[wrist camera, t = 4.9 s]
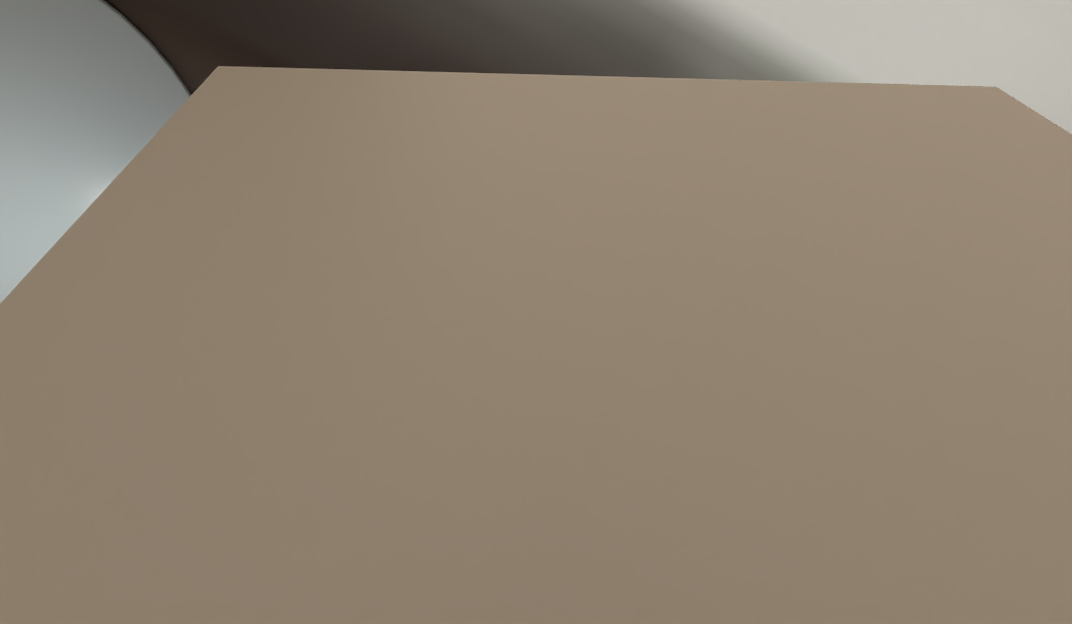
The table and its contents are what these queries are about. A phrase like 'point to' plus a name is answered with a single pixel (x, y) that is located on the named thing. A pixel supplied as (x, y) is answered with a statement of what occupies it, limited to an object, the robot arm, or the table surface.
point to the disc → (70, 117)
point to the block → (551, 359)
